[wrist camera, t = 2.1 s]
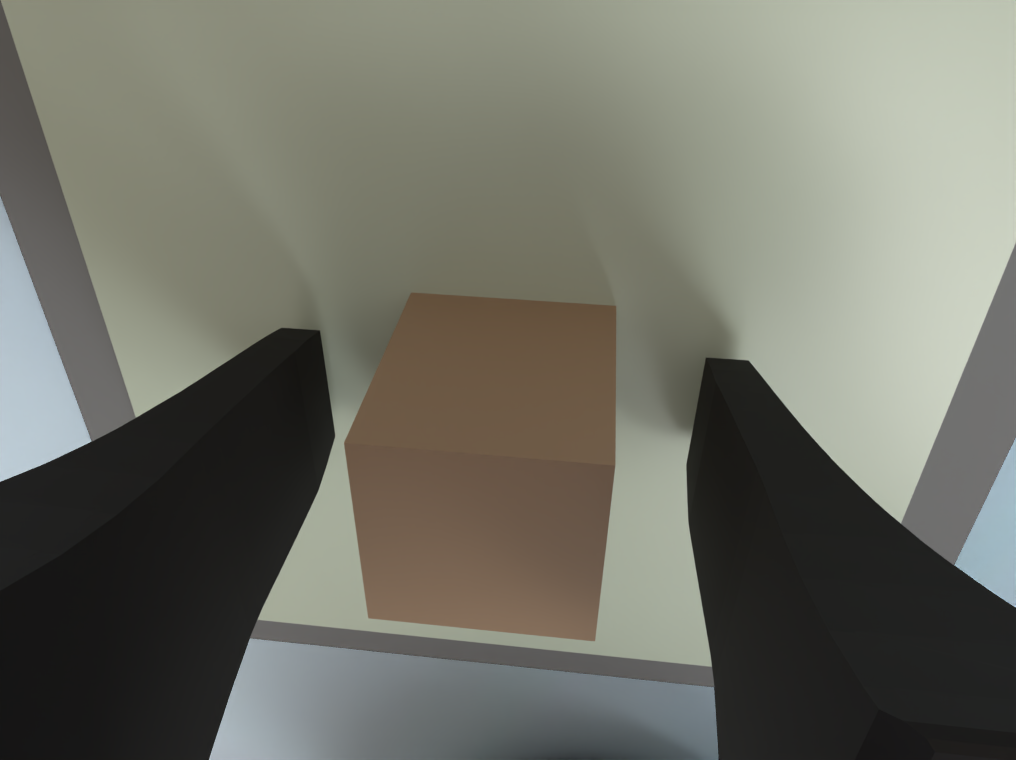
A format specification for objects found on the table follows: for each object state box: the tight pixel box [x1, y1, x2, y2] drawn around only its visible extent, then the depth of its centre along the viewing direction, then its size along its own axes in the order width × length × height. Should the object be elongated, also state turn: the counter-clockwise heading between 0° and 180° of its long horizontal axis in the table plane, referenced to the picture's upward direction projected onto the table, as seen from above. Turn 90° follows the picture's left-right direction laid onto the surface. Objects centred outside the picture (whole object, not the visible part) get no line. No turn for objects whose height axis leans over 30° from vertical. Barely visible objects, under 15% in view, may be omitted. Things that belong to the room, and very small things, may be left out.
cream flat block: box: [1, 0, 1016, 667], centre depth 11 cm, size 13×13×4 cm
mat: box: [0, 0, 1016, 687], centre depth 13 cm, size 16×16×1 cm
